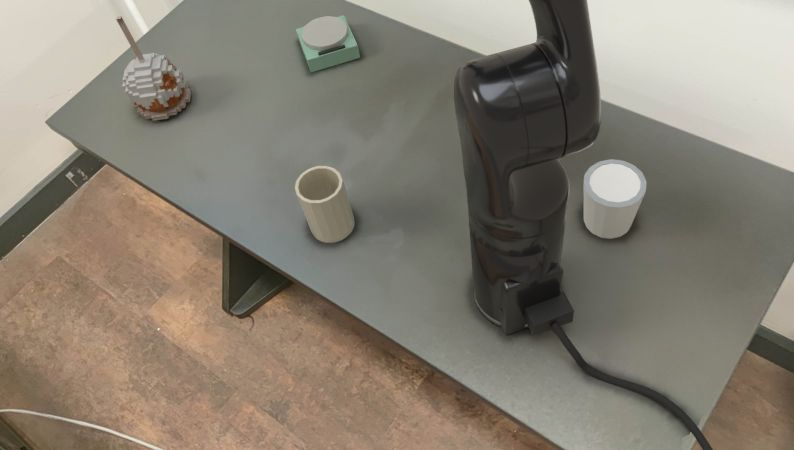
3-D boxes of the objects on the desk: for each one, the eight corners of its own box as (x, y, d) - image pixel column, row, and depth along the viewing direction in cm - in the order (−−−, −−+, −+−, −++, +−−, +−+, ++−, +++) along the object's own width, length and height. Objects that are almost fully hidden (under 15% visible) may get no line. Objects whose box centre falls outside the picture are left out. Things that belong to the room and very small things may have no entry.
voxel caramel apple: (189, 118, 99) (145, 33, 87) (135, 126, 99) (82, 41, 87) (194, 80, 103) (152, -6, 91) (142, 88, 103) (93, 3, 91)
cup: (359, 234, 84) (347, 193, 78) (316, 248, 84) (301, 209, 77) (348, 201, 88) (335, 160, 81) (306, 215, 87) (290, 174, 80)
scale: (360, 57, 103) (356, 40, 101) (310, 72, 102) (305, 55, 100) (347, 27, 108) (343, 10, 105) (299, 41, 107) (294, 24, 104)
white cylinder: (602, 187, 86) (609, 149, 80) (649, 217, 82) (659, 179, 77) (566, 220, 83) (570, 184, 77) (613, 253, 80) (621, 217, 74)
